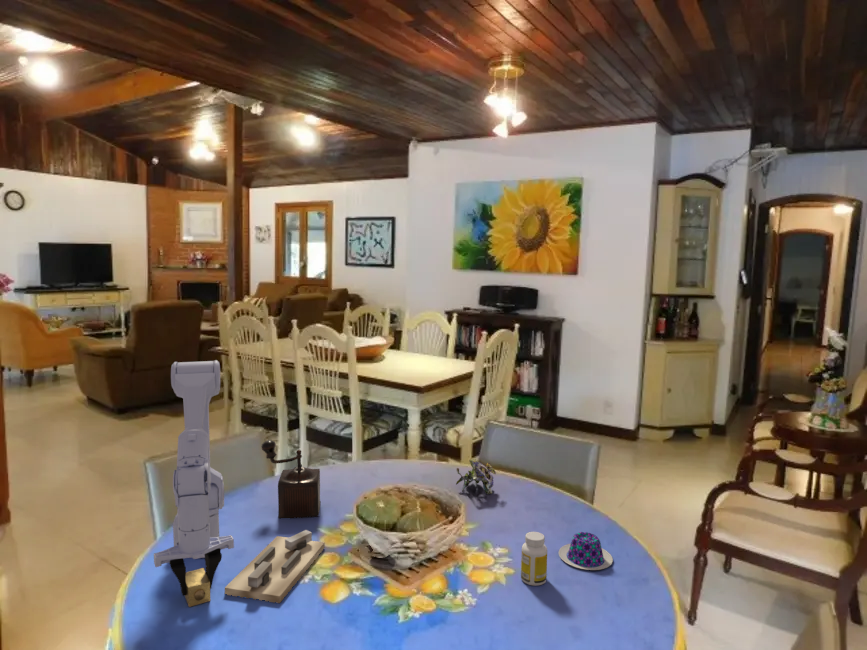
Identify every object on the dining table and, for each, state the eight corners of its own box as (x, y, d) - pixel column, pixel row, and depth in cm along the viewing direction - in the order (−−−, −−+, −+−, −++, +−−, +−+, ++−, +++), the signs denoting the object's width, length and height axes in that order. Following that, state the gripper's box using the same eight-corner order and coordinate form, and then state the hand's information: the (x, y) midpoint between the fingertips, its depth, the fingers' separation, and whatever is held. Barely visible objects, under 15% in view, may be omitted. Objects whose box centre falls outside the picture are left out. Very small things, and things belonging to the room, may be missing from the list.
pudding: (548, 558, 135) (549, 537, 134) (575, 540, 144) (576, 520, 143) (596, 579, 127) (597, 556, 126) (622, 559, 135) (623, 537, 135)
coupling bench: (224, 594, 119) (224, 574, 118) (277, 542, 140) (276, 524, 139) (279, 603, 116) (279, 582, 115) (324, 548, 137) (324, 530, 137)
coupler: (189, 608, 114) (188, 588, 113) (182, 590, 120) (182, 572, 119) (211, 601, 116) (210, 582, 115) (203, 585, 122) (202, 566, 121)
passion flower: (488, 511, 170) (499, 488, 162) (451, 504, 170) (460, 481, 162) (488, 477, 179) (499, 454, 171) (453, 471, 178) (462, 448, 170)
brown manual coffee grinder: (321, 499, 164) (320, 436, 162) (318, 517, 153) (318, 450, 151) (263, 501, 162) (262, 438, 160) (257, 520, 151) (255, 452, 149)
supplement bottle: (548, 575, 127) (549, 532, 126) (544, 588, 122) (546, 544, 121) (523, 570, 129) (524, 528, 128) (518, 583, 124) (519, 539, 123)
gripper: (156, 542, 109) (159, 611, 110) (236, 524, 116) (238, 588, 118) (151, 527, 115) (154, 592, 116) (228, 510, 122) (230, 572, 124)
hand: (196, 589), depth 118 cm, fingers closed on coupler, 4 cm apart
